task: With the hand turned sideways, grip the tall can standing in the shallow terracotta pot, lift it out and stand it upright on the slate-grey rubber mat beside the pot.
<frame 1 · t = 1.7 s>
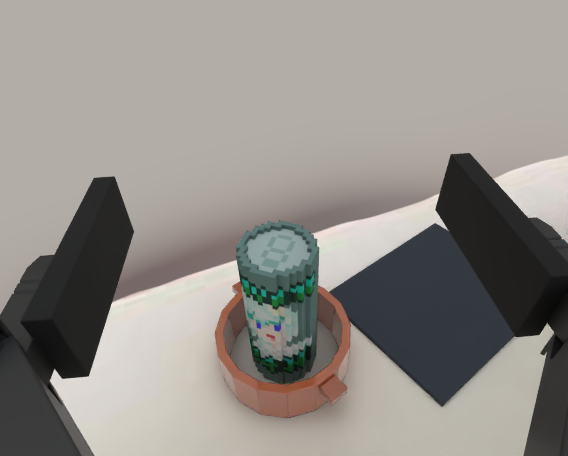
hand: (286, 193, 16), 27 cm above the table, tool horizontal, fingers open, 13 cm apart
can: (284, 355, 40), resting in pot
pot: (284, 354, 40), on the table
mat: (437, 297, 45), on the table
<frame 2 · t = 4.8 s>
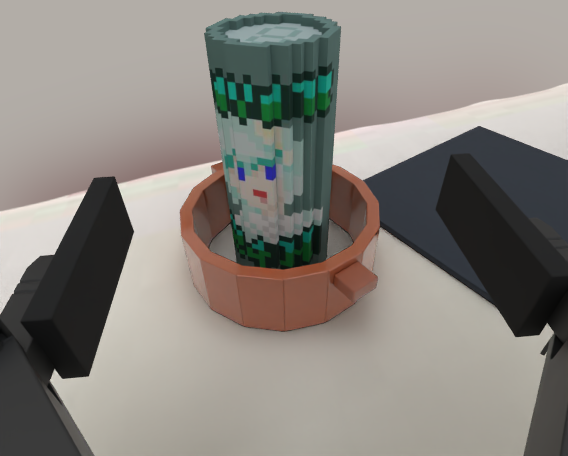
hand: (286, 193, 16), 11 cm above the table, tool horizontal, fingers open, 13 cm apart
can: (281, 258, 28), resting in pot
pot: (281, 256, 28), on the table
mat: (491, 198, 33), on the table
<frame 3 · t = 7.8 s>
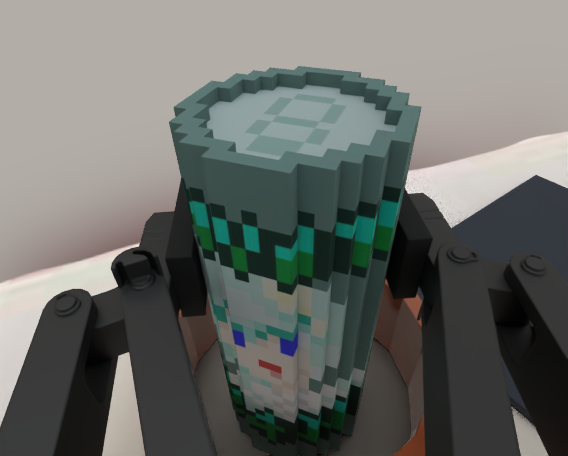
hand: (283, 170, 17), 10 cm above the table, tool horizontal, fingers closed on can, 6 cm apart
can: (296, 396, 20), resting in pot, touching gripper
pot: (296, 394, 20), on the table
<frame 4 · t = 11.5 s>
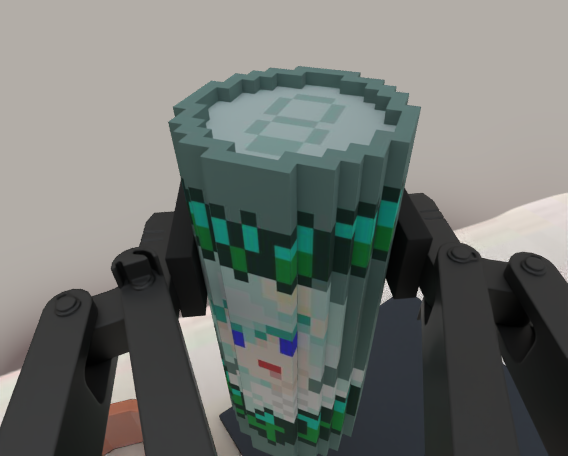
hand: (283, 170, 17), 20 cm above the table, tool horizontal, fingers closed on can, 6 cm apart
can: (296, 396, 20), point 10 cm above the table, touching gripper
mat: (397, 424, 28), on the table
when the fingers open (10 cm above the table, at t = 15.5 s): can stays where it is, resting on mat.
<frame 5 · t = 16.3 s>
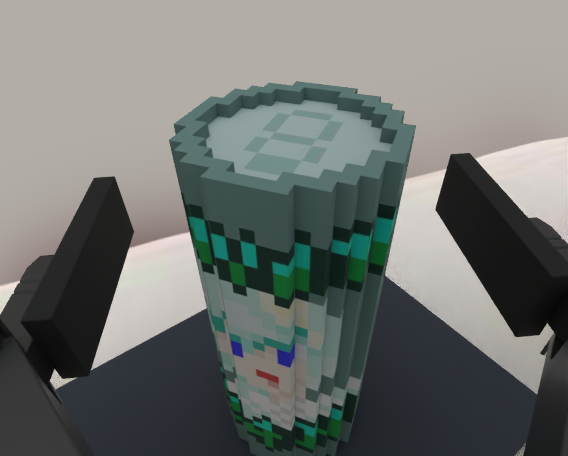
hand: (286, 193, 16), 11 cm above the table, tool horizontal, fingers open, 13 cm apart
can: (294, 402, 20), resting on mat
mat: (295, 403, 20), on the table
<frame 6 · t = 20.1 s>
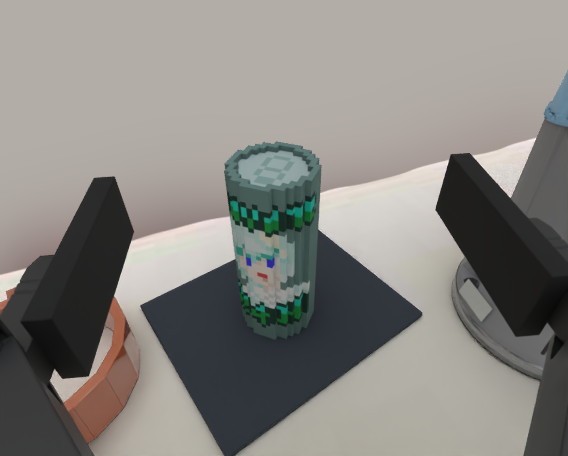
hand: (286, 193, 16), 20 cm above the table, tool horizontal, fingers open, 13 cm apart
can: (278, 310, 36), resting on mat
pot: (56, 381, 31), on the table
mat: (279, 312, 36), on the table
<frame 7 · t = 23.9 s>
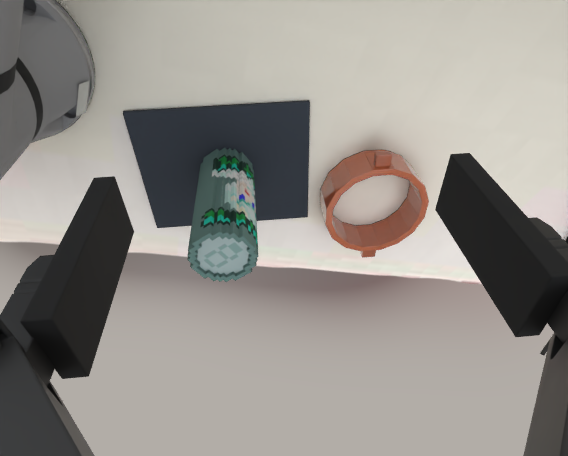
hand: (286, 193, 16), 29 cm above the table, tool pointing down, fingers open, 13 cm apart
can: (227, 170, 48), resting on mat
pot: (367, 192, 52), on the table
mat: (226, 169, 48), on the table
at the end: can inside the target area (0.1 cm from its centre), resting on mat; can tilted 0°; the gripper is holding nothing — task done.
